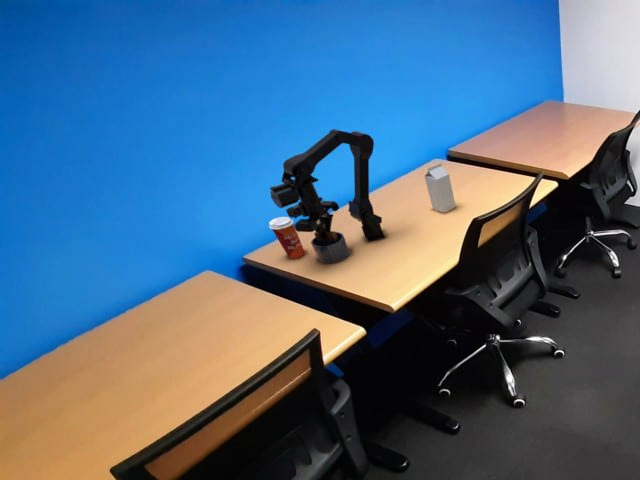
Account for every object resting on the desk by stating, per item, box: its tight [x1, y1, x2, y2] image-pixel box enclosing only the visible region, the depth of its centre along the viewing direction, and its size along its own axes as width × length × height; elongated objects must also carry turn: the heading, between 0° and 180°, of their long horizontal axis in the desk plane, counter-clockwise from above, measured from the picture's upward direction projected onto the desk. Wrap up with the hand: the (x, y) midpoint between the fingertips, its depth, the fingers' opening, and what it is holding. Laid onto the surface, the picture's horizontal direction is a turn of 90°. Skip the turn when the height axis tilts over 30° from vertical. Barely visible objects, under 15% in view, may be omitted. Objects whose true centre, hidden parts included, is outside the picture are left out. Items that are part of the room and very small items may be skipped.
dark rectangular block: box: [313, 230, 338, 242], centre depth 170 cm, size 7×2×3 cm, turn 85°
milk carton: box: [424, 162, 457, 214], centre depth 199 cm, size 7×7×19 cm
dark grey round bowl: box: [310, 231, 351, 264], centre depth 173 cm, size 11×11×7 cm
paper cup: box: [268, 216, 306, 259], centre depth 172 cm, size 8×8×14 cm
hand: (326, 237), depth 171 cm, fingers closed on dark rectangular block, 2 cm apart
